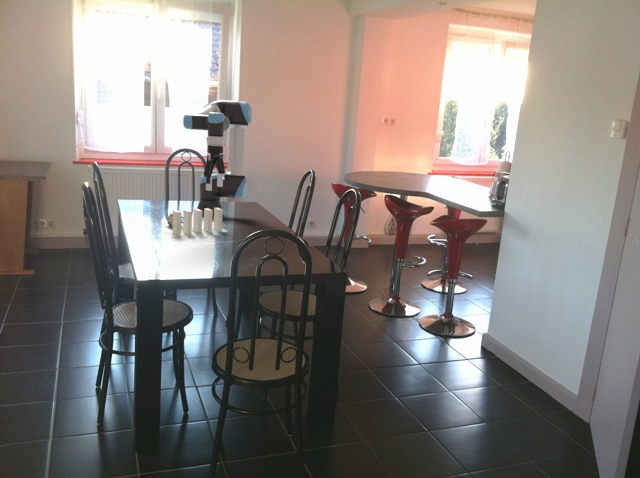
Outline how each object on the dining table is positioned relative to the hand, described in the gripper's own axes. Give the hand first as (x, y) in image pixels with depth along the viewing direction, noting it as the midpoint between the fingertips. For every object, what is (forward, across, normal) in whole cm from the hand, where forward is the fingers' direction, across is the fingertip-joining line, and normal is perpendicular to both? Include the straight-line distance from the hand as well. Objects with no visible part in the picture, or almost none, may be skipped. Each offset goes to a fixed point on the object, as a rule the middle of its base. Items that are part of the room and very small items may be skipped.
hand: (214, 188), depth 291 cm
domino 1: (+21, +16, -12) cm, 29 cm away
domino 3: (+21, +7, -5) cm, 23 cm away
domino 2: (+21, +11, -9) cm, 25 cm away
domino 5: (+21, -1, +2) cm, 21 cm away
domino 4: (+21, +3, -2) cm, 21 cm away
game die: (+22, +1, -21) cm, 31 cm away
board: (+22, +7, -5) cm, 24 cm away
